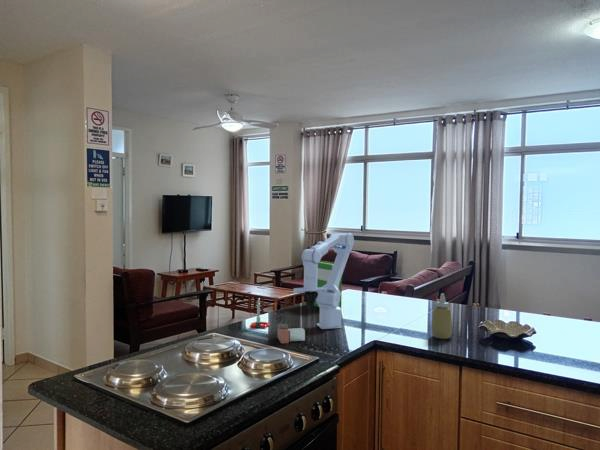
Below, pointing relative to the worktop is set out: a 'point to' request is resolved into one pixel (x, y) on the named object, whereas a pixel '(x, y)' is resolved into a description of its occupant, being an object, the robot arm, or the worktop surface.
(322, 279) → the hardback book
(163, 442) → the worktop surface
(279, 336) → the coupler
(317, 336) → the worktop surface
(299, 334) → the lock block
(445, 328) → the squeeze bottle
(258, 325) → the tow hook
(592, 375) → the worktop surface
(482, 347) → the worktop surface
